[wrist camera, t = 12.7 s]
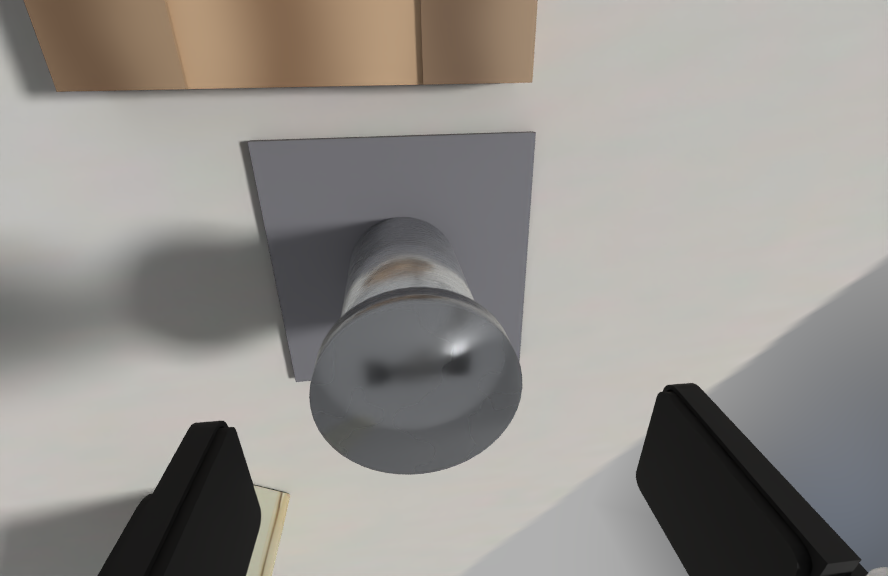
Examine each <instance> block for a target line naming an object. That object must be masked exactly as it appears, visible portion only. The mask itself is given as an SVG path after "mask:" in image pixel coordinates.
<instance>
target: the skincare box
mask: <svg viewBox="0 0 888 576" xmlns="http://www.w3.org/2000/svg"><path fill="white" fill-rule="evenodd" d="M253 486H254V489H255V492H256V495H257V498H258V502H259V505H260V508H261V525H260V529H259V533H258V536H257V540H256V543H255V546H254V550H253V553H252V557H251V560H250V564H249V567H248V571H247V574H246V576H272V572H273V568H274V564H275V559H276V555H277V551H278V546H279V542H280V538H281V534H282V529H283V525H284V521H285V516H286V512H287V507H288V503H289V498H290V495H289V494H287V493H283V492H279V491H275V490H271V489H267V488H263V487H259V486H255V485H253Z"/></svg>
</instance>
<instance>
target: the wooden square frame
mask: <svg viewBox="0 0 888 576" xmlns="http://www.w3.org/2000/svg"><path fill="white" fill-rule="evenodd" d="M537 1H538V0H24V3H25V6H26V8H27V11H28V14H29V17H30V19H31V22H32V25H33V28H34V30H35V33H36V36H37V39H38V41H39V44H40V47H41V50H42V52H43V55H44V58H45V60H46V63H47V66H48V69H49V71H50V74H51V77H52V80H53V82H54V85H55V88H56V91H57V92H64V91H116V90H168V89H215V88H267V87H319V86H370V85H422V84H423V85H426V84H478V83H530V82H532V78H533V62H534V47H535V32H536V16H537Z"/></svg>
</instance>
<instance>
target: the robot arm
mask: <svg viewBox="0 0 888 576" xmlns="http://www.w3.org/2000/svg"><path fill="white" fill-rule="evenodd" d="M636 480H637V484H638V487H639V489H640V491H641V493H642V494H643V496H644V498H645V500H646V501H647V503H648V505H649V507H650V508H651V510H652V512H653V514H654V515H655V517H656V519H657V520H658V522H659V524H660V526H661V528H662V529H663V531H664V533H665V535H666V536H667V538H668V540H669V541H670V543H671V545H672V547H673V548H674V550H675V552H676V554H677V555H678V557H679V559H680V561H681V562H682V564H683V566H684V568H685V569H686V571H687V573H688V574H689V576H888V568H886V567H882V568H877V569H873V570H871V571H870V572H869V573H868V572H867V571H866V570H865V569H864V568H863V567H862V566H861V565H860V563H859V562H860V561H861V559H860V558H859V557H858V556H857V555H856V554H855V552H854V551H853V550H852V549H851V548H850V547H849V546H848V545H847V544H846V543H845V542H844V541H843V540H842V539H841V538H840V536H838V534H836V532H835V531H834V530H833V529H832V528H831V527H830V526H829V525H828V524H827V523H826V522H825V520H823V518H822V517H821V516H820V515H819V514H818V513H817V512H816V511H815V510H814V509H813V508H812V507H811V506H810V505H809V503H808V502H807V501H805V499H804V498H803V497H802V496H801V495H800V494H799V493H798V492H797V491H796V490H795V488H794V487H793V486H792V485H791V484H790V483H789V482H788V481H787V480H786V479H785V478H784V477H783V476H782V475H781V474H780V472H779V471H778V470H777V469H776V468H775V467H774V466H773V465H772V464H771V463H770V462H769V461H768V460H767V459H766V458H765V456H763V454H762V453H761V452H760V451H759V450H758V449H757V448H756V447H755V446H754V445H753V444H752V443H751V442H750V440H749V439H748V438H747V437H746V436H745V435H744V434H743V433H742V432H741V431H740V430H739V429H738V428H737V427H736V426H735V424H734V423H733V422H732V421H731V420H730V419H729V418H728V417H727V416H726V415H725V414H724V413H723V412H722V411H721V410H720V408H719V407H718V406H717V405H716V404H715V403H714V402H713V401H712V400H711V399H710V398H709V397H708V396H707V395H706V393H705V392H704V391H703V390H702V389H701V388H700V387H699V386H697V385H696V384H694V383H687V384H674V385H667V386H666V387H665V388H664V390H663V392H660V393H659V394H658V395H657V398H656V402H655V405H654V409H653V413H652V416H651V420H650V424H649V427H648V431H647V435H646V438H645V442H644V445H643V450H642V453H641V456H640V460H639V464H638V467H637V471H636ZM260 525H261V508H260V505H259V502H258V498H257V495H256V492H255V489H254V486H253V482H252V479H251V476H250V473H249V470H248V467H247V463H246V460H245V457H244V454H243V451H242V447H241V444H240V441H239V438H238V435H237V432H236V429H235V428H234V427H228V426H227V424H226V422H225V421H213V422H200V423H194V424H192V425H191V427H190V428H189V429H188V431H187V433H186V435H185V437H184V438H183V440H182V442H181V444H180V446H179V447H178V449H177V451H176V453H175V454H174V456H173V458H172V460H171V462H170V463H169V465H168V467H167V469H166V471H165V472H164V474H163V476H162V478H161V480H160V481H159V483H158V485H157V487H156V489H155V490H154V492H153V494H149V495H147V496H146V497H145V498H144V499H143V500H142V501H141V502H140V504H139V505H138V507H137V508H136V510H135V512H134V513H133V515H132V517H131V519H130V520H129V522H128V524H127V526H126V527H125V529H124V531H123V533H122V534H121V536H120V538H119V539H118V541H117V543H116V545H115V546H114V548H113V550H112V552H111V553H110V555H109V557H108V559H107V560H106V562H105V564H104V566H103V567H102V569H101V571H100V573H99V574H98V576H246V574H247V571H248V567H249V564H250V560H251V557H252V553H253V550H254V546H255V543H256V540H257V536H258V533H259V529H260Z"/></svg>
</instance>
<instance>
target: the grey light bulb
mask: <svg viewBox="0 0 888 576" xmlns="http://www.w3.org/2000/svg"><path fill="white" fill-rule="evenodd" d="M521 392H522V373H521V367H520V363H519V361H518V358H517V355H516V353H515V351H514V349H513V347H512V345H511V343H510V341H509V339H508V336H507V335H506V333H505V331H504V329H503V327H502V326H501V324H500V323H499V322H498V320H497V319H496V318H495V317H494V316H493V315H492V314H491V313H490V312H489V311H488V310H487V309H486V308H484V307H483V306H482V305H480V304H479V303H477V302H476V301H474V299H473V296H472V294H471V291H470V289H469V287H468V284H467V282H466V280H465V277H464V275H463V272H462V270H461V268H460V265H459V263H458V260H457V258H456V256H455V253H454V251H453V249H452V246H451V244H450V242H449V241H448V239H447V238H446V236H445V235H444V234H443V233H442V232H441V231H440V230H439V229H438V228H436V227H435V226H433V225H432V224H430V223H428V222H426V221H424V220H421V219H417V218H412V217H395V218H390V219H386V220H384V221H381V222H379V223H377V224H375V225H373V226H372V227H371V228H369V229H368V230H367V231H366V232H365V233H364V234H363V235H362V236H361V237H360V238H359V240H358V241H357V243H356V245H355V247H354V249H353V252H352V256H351V260H350V266H349V272H348V278H347V284H346V290H345V296H344V302H343V308H342V314H341V318H340V319H339V320H337V322H336V323H335V324H334V325H333V326H332V328H331V329H330V330H329V331H328V333H327V335H326V336H325V338H324V340H323V341H322V344H321V346H320V348H319V351H318V354H317V358H316V362H315V367H314V371H313V375H312V380H311V384H310V396H309V398H310V407H311V411H312V415H313V419H314V421H315V423H316V425H317V427H318V430H319V431H320V432H321V434H322V435H323V437H324V438H325V440H326V441H327V442H328V443H329V444H330V445H331V446H332V447H333V448H334V449H335V450H336V451H338V452H339V453H340V454H341V455H343V456H344V457H346V458H348V459H349V460H351V461H353V462H355V463H357V464H359V465H361V466H364V467H367V468H370V469H372V470H376V471H381V472H385V473H393V474H424V473H430V472H436V471H440V470H443V469H447V468H450V467H453V466H456V465H458V464H461V463H463V462H465V461H467V460H469V459H471V458H473V457H474V456H476V455H478V454H479V453H481V452H482V451H483V450H485V449H486V448H487V447H489V446H490V445H491V444H492V443H493V442H494V441H495V440H496V439H498V438H499V436H500V435H501V434H502V433H503V432H504V431H505V429H506V428H507V427H508V425H509V423H510V422H511V420H512V419H513V417H514V415H515V412H516V410H517V408H518V405H519V402H520V398H521Z"/></svg>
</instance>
